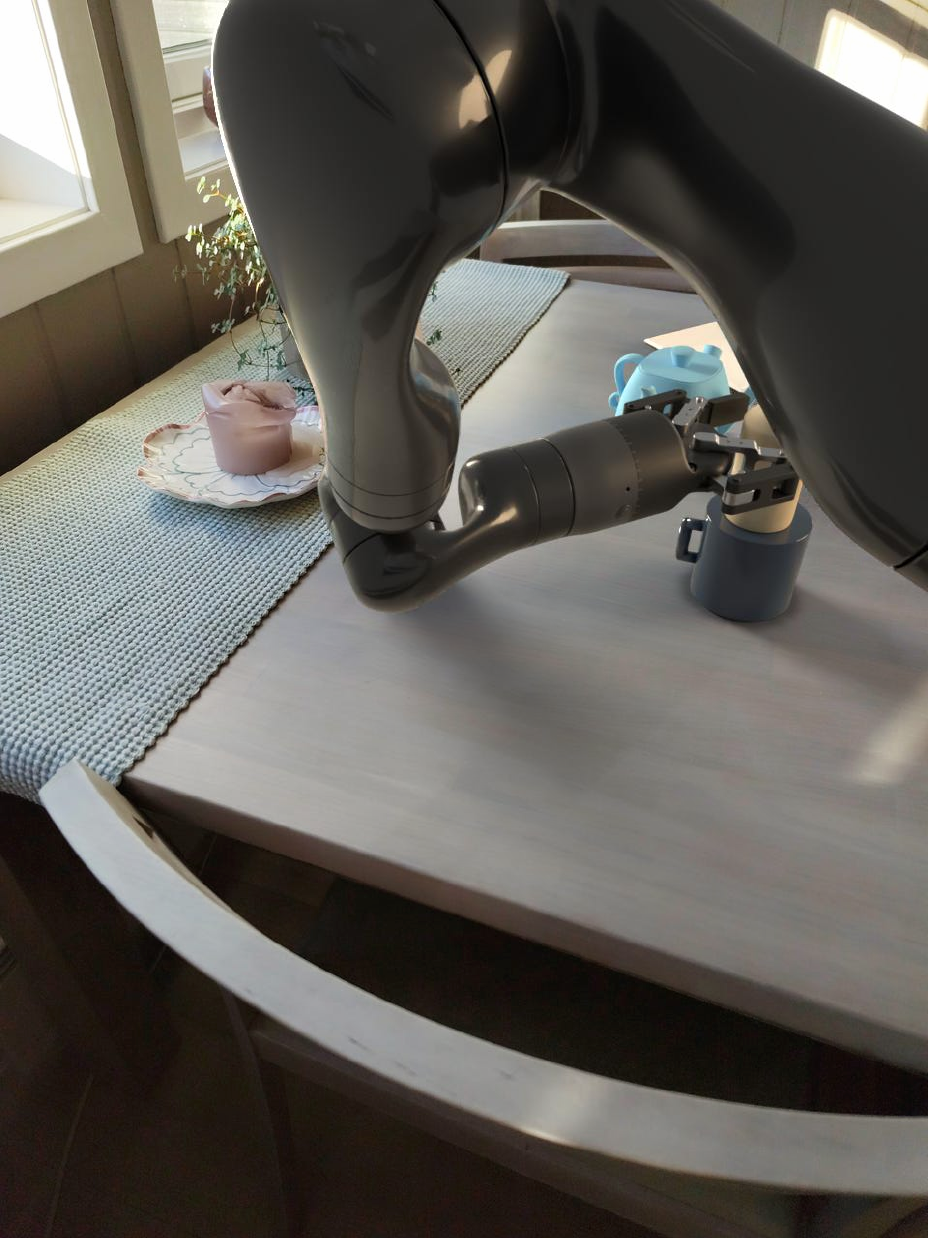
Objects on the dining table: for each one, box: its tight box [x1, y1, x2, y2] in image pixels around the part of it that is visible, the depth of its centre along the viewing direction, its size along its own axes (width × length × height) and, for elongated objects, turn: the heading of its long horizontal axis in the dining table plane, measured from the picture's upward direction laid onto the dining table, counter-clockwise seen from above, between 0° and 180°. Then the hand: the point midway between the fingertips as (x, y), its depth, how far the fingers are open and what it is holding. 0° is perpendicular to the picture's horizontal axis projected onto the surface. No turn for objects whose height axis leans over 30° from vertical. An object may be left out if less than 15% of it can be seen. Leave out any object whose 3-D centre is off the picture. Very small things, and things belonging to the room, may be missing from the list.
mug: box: [674, 494, 814, 623], centre depth 75 cm, size 10×9×8 cm
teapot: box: [608, 345, 757, 436], centre depth 94 cm, size 15×14×11 cm
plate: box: [643, 320, 749, 393], centre depth 114 cm, size 19×19×2 cm
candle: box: [725, 404, 804, 533], centre depth 69 cm, size 6×6×10 cm
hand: (781, 427), depth 67 cm, fingers open, 8 cm apart
